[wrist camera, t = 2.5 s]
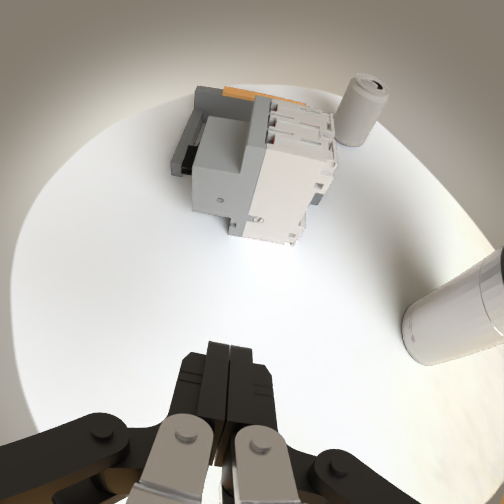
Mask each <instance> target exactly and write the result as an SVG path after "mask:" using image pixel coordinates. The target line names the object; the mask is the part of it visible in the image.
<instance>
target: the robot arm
mask: <svg viewBox="0 0 504 504" xmlns="http://www.w3.org/2000/svg"><path fill="white" fill-rule="evenodd" d="M402 335H403V340H404V344H405V346H406V348H407V350H408V352H409V353H410V355H411V356H412V357H413V358H414V359H415V360H416V361H417V362H419V363H420V364H423V365H426V366H432V365H436V364H440V363H443V362H447V361H451V360H454V359H458V358H461V357H464V356H467V355H471V354H474V353H477V352H480V351H483V350H486V349H489V348H491V347H494V346H497V345H500V344H503V343H504V245H503V246H501V247H500V248H499V249H497V250H496V251H494V252H493V253H491V254H490V255H489V256H487V257H486V258H484V259H483V260H481V261H480V262H479V263H477V264H476V265H474V266H472V267H471V268H469V269H468V270H466V271H465V272H463V273H462V274H460V275H459V276H457V277H455V278H454V279H452V280H451V281H449V282H447V283H446V284H444V285H442V286H441V287H439V288H437V289H436V290H434V291H432V292H431V293H429V294H427V295H426V296H424V297H422V298H420V299H419V300H417V301H415V302H414V303H413V304H411V305H410V306H409V308H408V309H407V310H406V313H405V315H404V318H403V322H402ZM229 348H230V350H229ZM272 387H273V384H272V375H271V374H270V372H269V371H268V369H267V368H266V366H265V365H261V364H255V363H253V358H252V349H251V348H245V347H239V346H233V345H231V346H230V345H228V344H222V343H217V342H212V341H209V343H208V348H207V353H206V355H204V354H199V353H194V352H190V353H189V354H188V355H187V356H186V357H185V358H184V359H183V360H182V364H181V367H180V372H179V375H178V379H177V382H176V386H175V390H174V394H173V398H172V402H171V405H170V409H169V413H168V415H167V417H166V418H165V419H164V420H163V421H162V422H161V423H159V424H157V425H155V426H152V427H147V428H127V426H126V425H125V423H124V422H123V421H122V420H120V419H119V418H118V417H116V416H114V415H111V414H107V413H92V414H88V415H86V416H83V417H81V418H78V419H76V420H73V421H71V422H68V423H65V424H63V425H60V426H58V427H55V428H52V429H49V430H47V431H44V432H41V433H38V434H36V435H33V436H30V437H27V438H24V439H21V440H18V441H15V442H12V443H9V444H6V445H3V446H0V504H114V503H116V502H118V501H120V500H122V499H124V498H126V497H127V496H128V499H127V502H126V504H201V501H202V500H201V498H202V493H203V488H204V483H205V478H206V474H207V471H208V467H209V465H211V466H212V464H213V460H214V457H215V462H214V466H219V467H222V478H221V481H220V484H219V504H421V503H419V502H418V501H416V500H415V499H413V498H412V497H410V496H409V495H407V494H406V493H404V492H403V491H401V490H400V489H399V488H397V487H396V486H394V485H393V484H391V483H390V482H389V481H387V480H386V479H384V478H383V477H382V476H380V475H379V474H377V473H376V472H375V471H373V470H372V469H371V468H369V467H368V466H367V465H365V464H364V463H363V462H361V461H360V460H359V459H357V458H356V457H355V456H353V455H352V454H350V453H348V452H346V451H343V450H339V449H329V450H326V451H323V452H321V453H320V454H319V455H318V456H313V455H310V454H307V453H303V452H300V451H297V450H295V449H293V448H291V447H290V446H288V445H287V444H286V442H285V440H284V438H283V437H282V436H281V435H280V434H279V433H278V429H277V420H276V411H275V402H274V397H273V396H274V393H273V388H272Z"/></svg>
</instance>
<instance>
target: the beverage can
mask: <svg viewBox="0 0 504 504" xmlns="http://www.w3.org/2000/svg"><path fill="white" fill-rule="evenodd" d="M388 94H389V89H388V87H387V86H386V85H385V84H384V83H383V82H382V81H380V80H379V79H377V78H376V77H374V76H371V75H369V74H364V73H358V74H356V76H355V78H353V79H351V81H350V83H349V85H348V88H347V90H346V92H345V94H344V96H343V99H342V101H341V103H340V105H339V108H338V110H337V112H336V114H335V117H334V119H333V120H334V129H335V136H334V138H335V139H336V140H337V141H338V142H340V143H341V144H343V145H346V146H352V147H358V146H361V145H362V144H363V143H364V142H365V140H366V138H367V136H368V135H369V133H370V131H371V129H372V128H373V126H374V124H375V122H376V121H377V119H378V117H379V115H380V113H381V112H382V110H383V108H384V106H385V104H386V103H387V101H388Z"/></svg>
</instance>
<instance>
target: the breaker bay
mask: <svg viewBox="0 0 504 504" xmlns="http://www.w3.org/2000/svg"><path fill="white" fill-rule="evenodd" d="M256 95H258V96H264V97H269V98H273V99H278V100H283V101H287V102H292V103H296V104H300V105H304V106H306V104H304V103H300V102H296V101H292V100H288V99H284V98H279V97H275V96H271V95H266V94H262V93H257V92H252V91H247V90H242V89H236V88H231V87H224V90H222V89H216V88H210V87H203V86H197V88H196V90H195V99H194V110H193V112H192V115H191V117H190V119H189V121H188V123H187V126H186V128H185V130H184V132H183V135H182V137H181V139H180V142H179V144H178V146H177V149H176V151H175V154H174V156H173V158H172V161H171V174H172V175H175V176H180V177H182V176H183V174H181V164H182V161H183V160H184V157H185V154H186V151H187V147H188V145H193V146H194V144H195V141H196V139H197V136H198V133H199V131H200V128H201V126H202V123H207V120H208V117H209V116H213V117H220V118H226V119H233V120H239V121H245V122H250V118H251V113H252V109H253V104H254V99H255V96H256ZM323 195H324V194H320V193H315V195H314V196H313V198H312V200H311V202H310V204H314V205H318V203H319V202H320V200H321V198H322V196H323Z"/></svg>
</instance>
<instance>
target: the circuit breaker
mask: <svg viewBox="0 0 504 504" xmlns="http://www.w3.org/2000/svg"><path fill="white" fill-rule="evenodd" d="M334 136H335V129H334V120H333V113H331V112H330V114H327V113H323V110H320V109H316V108H312V107H308V106H304V105H300V104H296V103H292V102H287V101H283V100H278V99H273V98H269V97H264V96H258V95H256V96H255V99H254V104H253V109H252V113H251V118H250V122H245V121H239V120H233V119H226V118H220V117H213V116H209V117H208V120H207V123H206V125H205V128H204V131H203V135H202V138H201V141H200V142H199V144H198V146H193V145H188V147H187V151H186V154H185V157H184V160H183V161H182V164H181V174H187V175H192V211H193V212H199V213H205V214H210V215H216V216H222V217H227V218H231V221H230V226H229V232H228V234H229V235H233V236H238V237H244V238H250V239H256V240H261V241H267V242H273V243H278V244H284V243H285V242H288V243H291V246H295V242H296V240H298V239H299V238H300V236H301V234H302V233H303V231H304V229H305V227H306V209H307V208H308V206H309V204H310V202H311V200H312V198H313V196H314V195H315V193H320V194H324V195H325V193H326V191H327V190H328V188H329V186H330V184H331V183H332V181H333V178H334V172H335V169H336V168H337V167H338V158H337V148H336V139H334Z"/></svg>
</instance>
